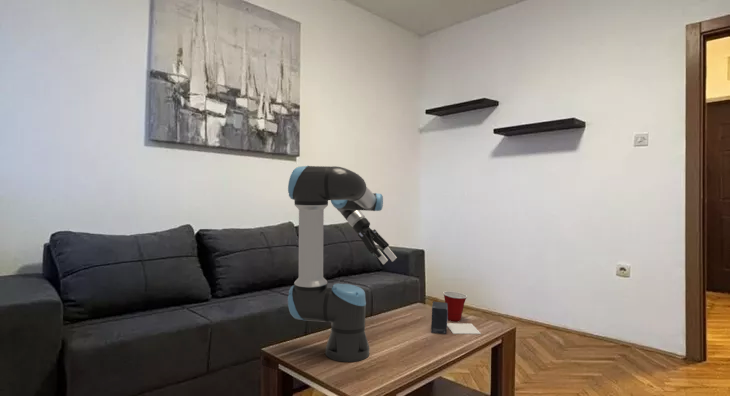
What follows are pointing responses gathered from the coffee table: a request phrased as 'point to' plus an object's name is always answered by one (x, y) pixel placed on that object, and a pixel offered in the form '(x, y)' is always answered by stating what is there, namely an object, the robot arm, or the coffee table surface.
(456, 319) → the plastic cup
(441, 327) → the small box
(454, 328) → the mat
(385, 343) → the coffee table surface
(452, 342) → the coffee table surface
